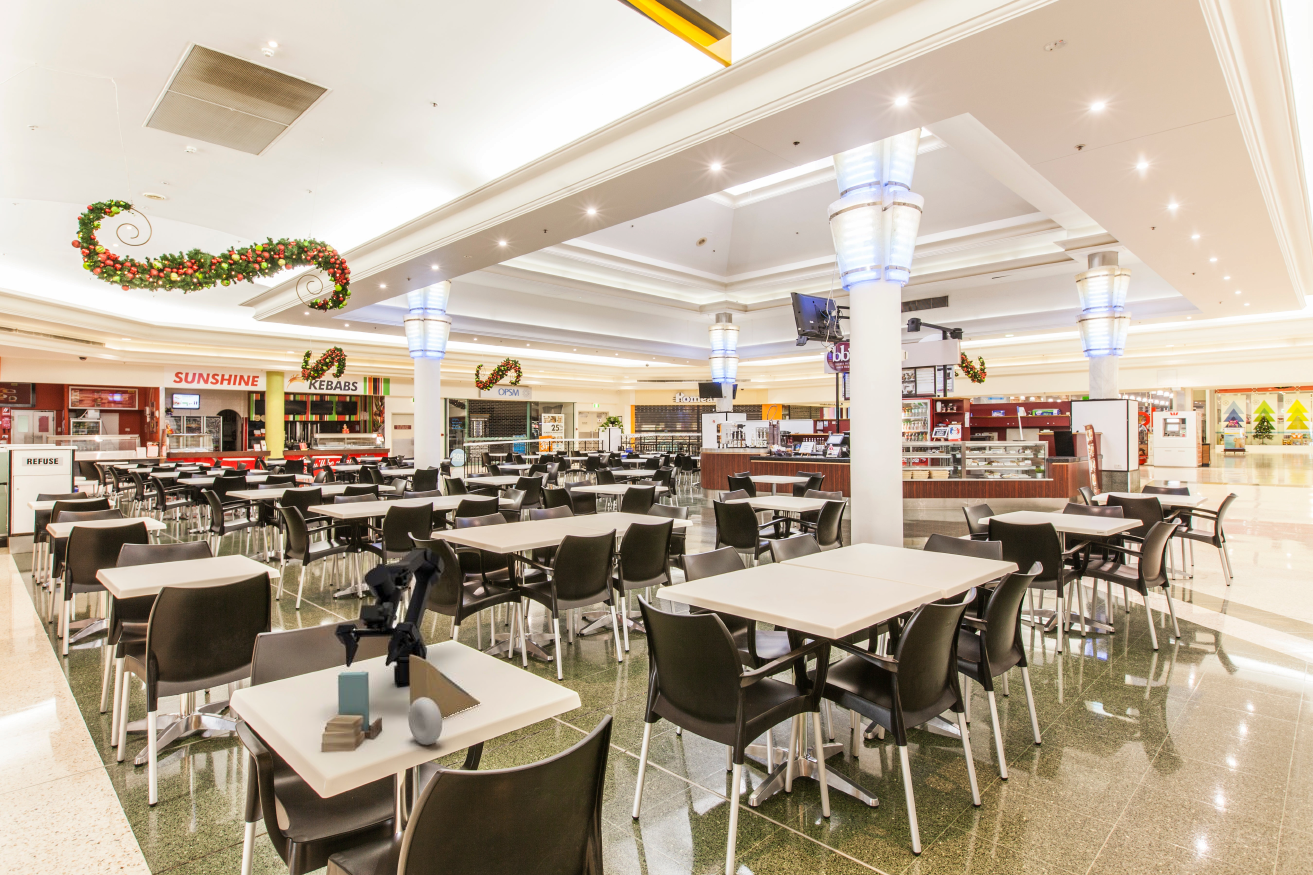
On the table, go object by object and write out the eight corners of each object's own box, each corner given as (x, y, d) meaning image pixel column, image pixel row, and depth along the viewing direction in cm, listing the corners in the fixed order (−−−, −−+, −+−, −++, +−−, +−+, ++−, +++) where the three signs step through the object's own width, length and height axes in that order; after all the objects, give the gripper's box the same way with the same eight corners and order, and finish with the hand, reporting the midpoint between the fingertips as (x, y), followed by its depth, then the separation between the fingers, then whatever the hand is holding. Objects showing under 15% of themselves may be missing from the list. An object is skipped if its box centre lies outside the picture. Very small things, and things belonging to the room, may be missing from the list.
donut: (405, 740, 140) (404, 695, 140) (419, 734, 143) (418, 690, 143) (432, 752, 134) (431, 705, 134) (446, 746, 137) (445, 700, 137)
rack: (334, 731, 145) (334, 718, 145) (382, 730, 145) (382, 717, 146) (325, 740, 141) (325, 727, 141) (373, 739, 141) (373, 725, 141)
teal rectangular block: (342, 734, 144) (341, 672, 144) (369, 733, 144) (368, 671, 144) (338, 737, 142) (338, 675, 142) (365, 736, 142) (364, 674, 143)
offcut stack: (332, 741, 141) (332, 714, 141) (365, 740, 141) (364, 714, 141) (320, 752, 135) (319, 725, 136) (353, 751, 136) (353, 724, 136)
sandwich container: (484, 704, 160) (483, 645, 160) (427, 725, 148) (426, 661, 148) (465, 696, 165) (464, 638, 166) (409, 715, 154) (409, 653, 154)
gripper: (337, 591, 156) (314, 650, 145) (413, 589, 156) (396, 648, 145) (352, 614, 164) (332, 672, 153) (425, 613, 164) (410, 670, 153)
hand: (367, 665), depth 151 cm, fingers open, 9 cm apart
